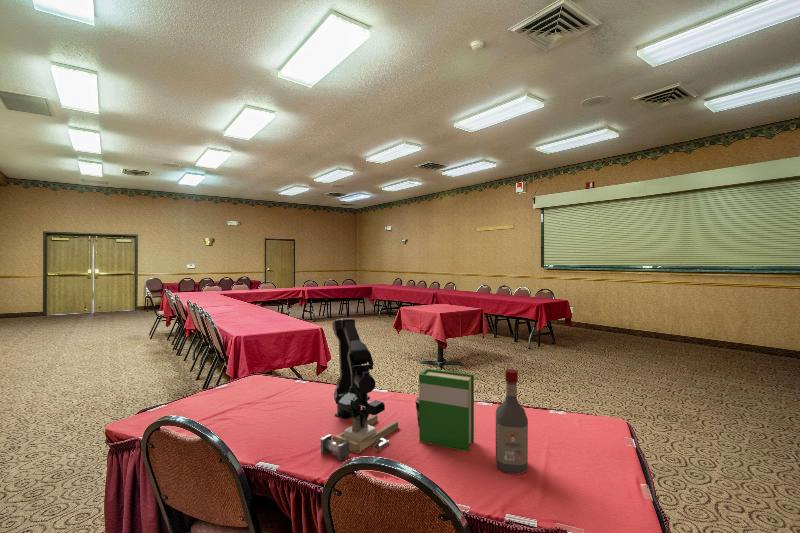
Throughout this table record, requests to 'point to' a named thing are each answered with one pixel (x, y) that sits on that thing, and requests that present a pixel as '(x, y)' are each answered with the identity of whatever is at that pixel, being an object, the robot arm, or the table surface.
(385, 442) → the crank handle
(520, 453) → the liquor
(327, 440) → the winch
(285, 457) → the table surface
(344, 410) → the robot arm
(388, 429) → the bay
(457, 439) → the hardback book
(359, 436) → the two-tone stepped block
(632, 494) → the table surface
